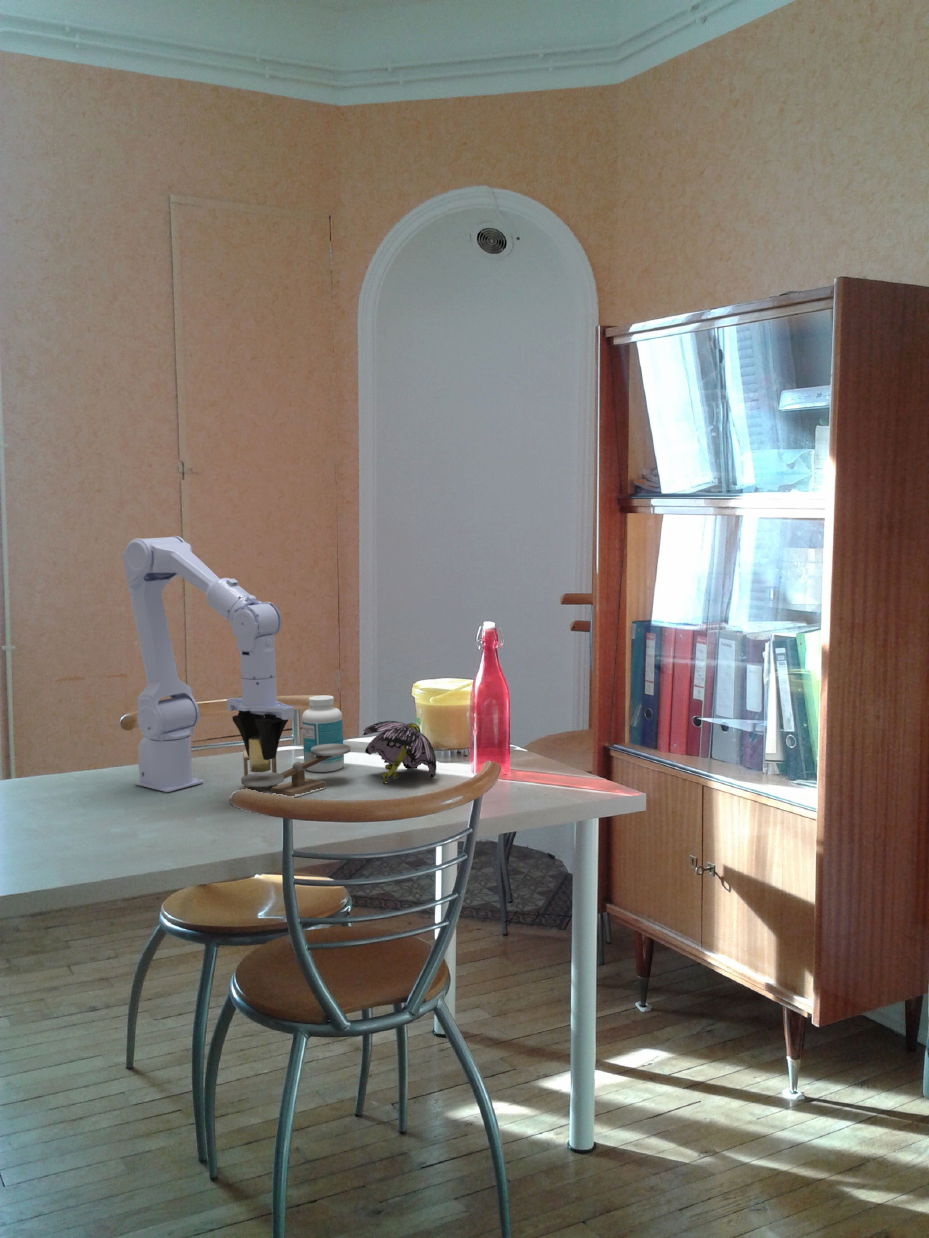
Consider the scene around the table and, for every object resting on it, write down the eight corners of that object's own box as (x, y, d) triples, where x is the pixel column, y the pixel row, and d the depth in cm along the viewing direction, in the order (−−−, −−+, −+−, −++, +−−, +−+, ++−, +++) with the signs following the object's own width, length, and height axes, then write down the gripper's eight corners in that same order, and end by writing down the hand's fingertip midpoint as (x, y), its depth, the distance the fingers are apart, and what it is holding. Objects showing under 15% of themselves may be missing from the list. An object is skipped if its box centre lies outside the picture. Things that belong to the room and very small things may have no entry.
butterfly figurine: (459, 727, 197) (379, 709, 192) (448, 792, 194) (366, 775, 190) (433, 733, 210) (358, 717, 206) (422, 795, 207) (345, 779, 203)
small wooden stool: (245, 793, 193) (244, 757, 192) (244, 785, 198) (243, 750, 197) (277, 790, 194) (275, 755, 193) (275, 783, 199) (274, 748, 198)
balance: (233, 803, 186) (231, 767, 186) (331, 774, 204) (330, 741, 203) (261, 810, 182) (260, 773, 181) (359, 780, 200) (358, 746, 199)
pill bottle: (347, 763, 212) (345, 693, 211) (339, 773, 205) (337, 701, 203) (309, 763, 213) (306, 693, 211) (299, 773, 206) (297, 701, 204)
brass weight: (246, 769, 186) (244, 738, 185) (264, 766, 188) (262, 734, 188) (256, 773, 183) (255, 741, 183) (274, 769, 186) (273, 737, 185)
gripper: (210, 676, 186) (214, 756, 187) (269, 684, 177) (273, 768, 178) (243, 670, 191) (247, 747, 193) (302, 677, 182) (305, 759, 184)
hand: (261, 757), depth 186 cm, fingers closed on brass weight, 3 cm apart
